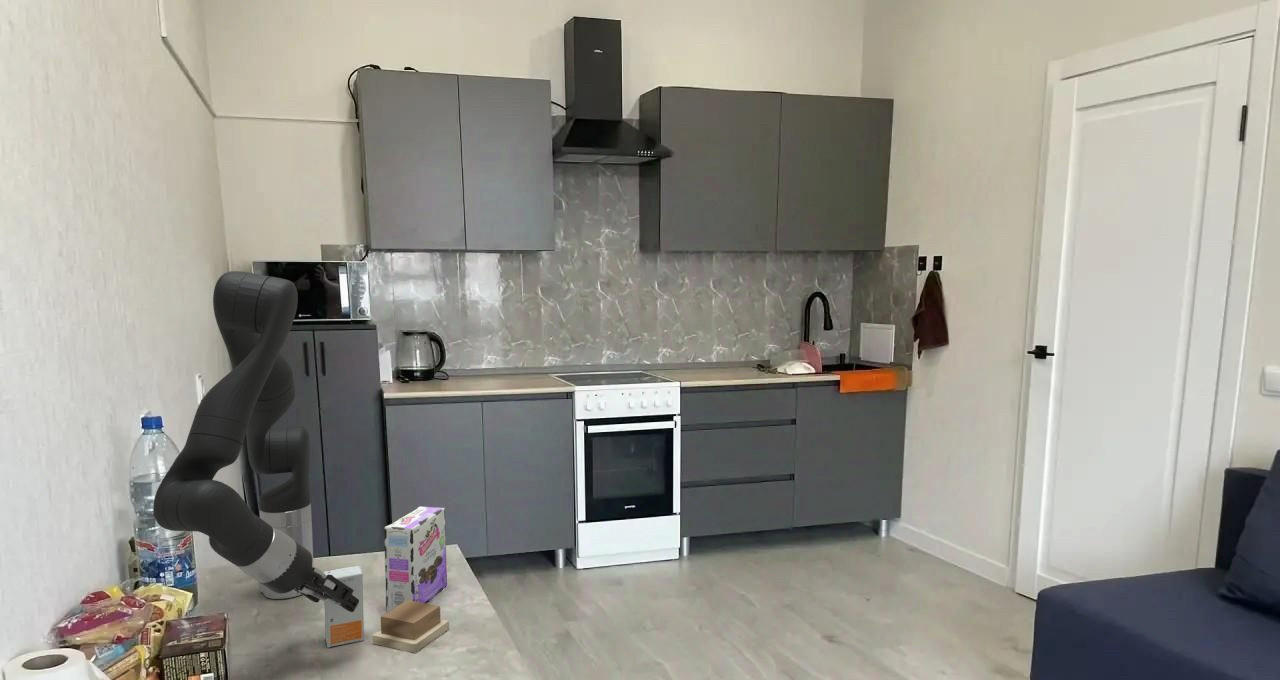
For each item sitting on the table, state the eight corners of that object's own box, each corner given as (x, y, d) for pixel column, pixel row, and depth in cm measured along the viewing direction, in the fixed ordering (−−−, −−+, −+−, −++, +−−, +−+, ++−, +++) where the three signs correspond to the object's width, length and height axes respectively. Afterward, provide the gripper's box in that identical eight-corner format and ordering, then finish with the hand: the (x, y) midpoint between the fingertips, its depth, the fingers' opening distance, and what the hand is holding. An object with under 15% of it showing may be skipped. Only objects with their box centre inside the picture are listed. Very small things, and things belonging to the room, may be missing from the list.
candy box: (414, 615, 134) (411, 528, 133) (385, 613, 135) (382, 526, 134) (448, 585, 147) (446, 506, 146) (421, 583, 148) (419, 504, 147)
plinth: (372, 643, 123) (371, 618, 123) (407, 620, 132) (407, 596, 131) (415, 653, 120) (414, 626, 120) (448, 629, 128) (448, 604, 128)
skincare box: (327, 649, 122) (324, 579, 121) (325, 638, 125) (322, 571, 124) (365, 640, 124) (363, 573, 123) (362, 630, 128) (360, 564, 127)
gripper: (319, 543, 111) (379, 588, 122) (258, 530, 117) (320, 573, 128) (290, 589, 107) (355, 632, 118) (228, 573, 113) (295, 614, 124)
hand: (337, 601), depth 123 cm, fingers open, 8 cm apart
